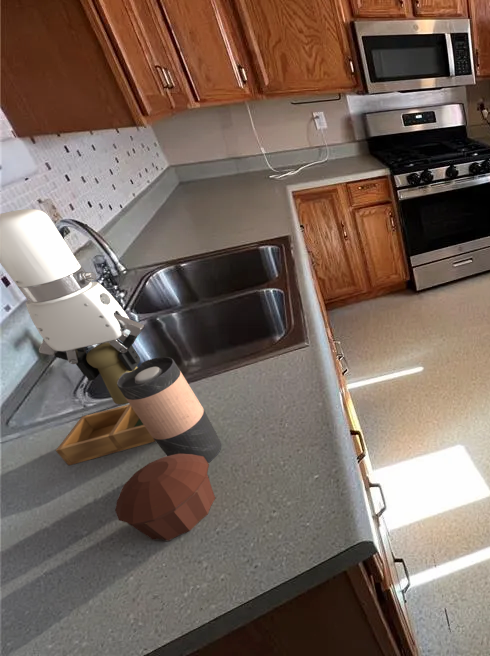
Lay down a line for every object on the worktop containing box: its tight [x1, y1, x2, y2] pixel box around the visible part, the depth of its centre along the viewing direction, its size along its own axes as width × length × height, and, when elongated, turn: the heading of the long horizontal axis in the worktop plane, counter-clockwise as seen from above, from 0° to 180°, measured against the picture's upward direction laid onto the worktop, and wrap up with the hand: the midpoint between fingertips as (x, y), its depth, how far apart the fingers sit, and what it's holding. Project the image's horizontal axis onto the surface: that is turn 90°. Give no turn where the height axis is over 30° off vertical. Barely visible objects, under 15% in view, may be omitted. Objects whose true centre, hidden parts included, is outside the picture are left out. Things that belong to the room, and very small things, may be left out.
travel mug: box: [117, 356, 222, 464], centre depth 71 cm, size 8×8×20 cm
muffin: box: [114, 454, 216, 542], centre depth 64 cm, size 12×11×10 cm
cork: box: [86, 342, 139, 405], centre depth 76 cm, size 6×6×11 cm
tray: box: [55, 403, 156, 466], centre depth 81 cm, size 16×9×4 cm, turn 109°
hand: (115, 370), depth 76 cm, fingers closed on cork, 5 cm apart
